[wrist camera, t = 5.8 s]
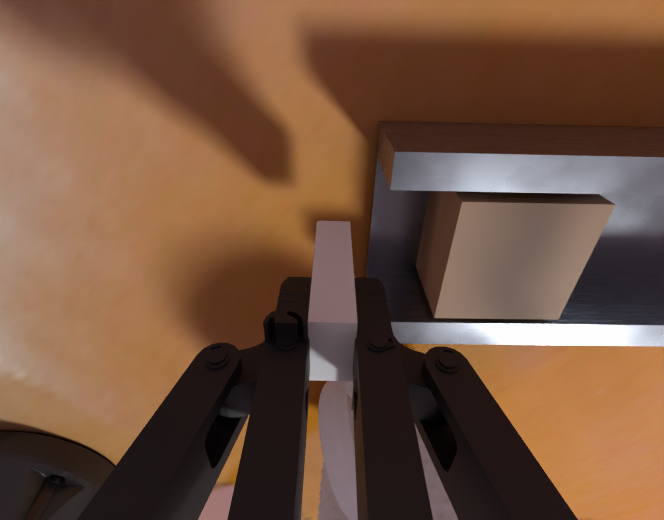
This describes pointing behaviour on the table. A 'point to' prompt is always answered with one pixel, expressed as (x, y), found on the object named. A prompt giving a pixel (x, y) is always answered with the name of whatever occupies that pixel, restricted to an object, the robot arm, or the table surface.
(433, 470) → the mug
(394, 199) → the chute
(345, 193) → the table surface
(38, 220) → the table surface
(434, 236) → the block
